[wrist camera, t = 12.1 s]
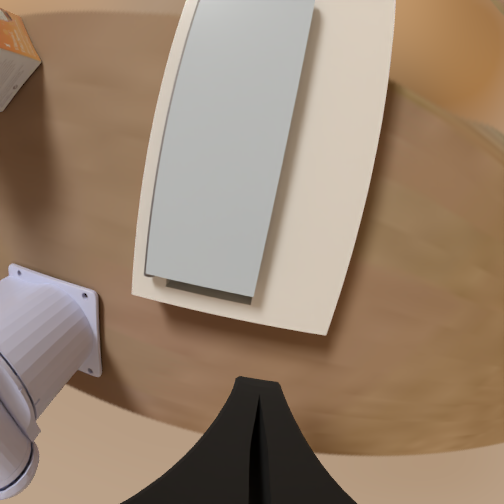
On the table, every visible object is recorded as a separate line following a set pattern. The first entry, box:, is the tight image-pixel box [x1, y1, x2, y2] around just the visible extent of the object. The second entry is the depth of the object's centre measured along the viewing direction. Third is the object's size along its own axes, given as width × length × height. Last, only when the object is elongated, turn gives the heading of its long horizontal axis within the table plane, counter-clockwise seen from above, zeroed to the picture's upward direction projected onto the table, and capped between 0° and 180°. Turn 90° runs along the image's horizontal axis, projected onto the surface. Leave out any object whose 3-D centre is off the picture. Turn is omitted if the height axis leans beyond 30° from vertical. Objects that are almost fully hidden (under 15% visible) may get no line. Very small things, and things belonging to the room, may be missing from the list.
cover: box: [144, 0, 315, 297], centre depth 13 cm, size 17×6×1 cm, turn 168°
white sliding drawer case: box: [132, 0, 396, 336], centre depth 15 cm, size 20×11×3 cm, turn 168°
